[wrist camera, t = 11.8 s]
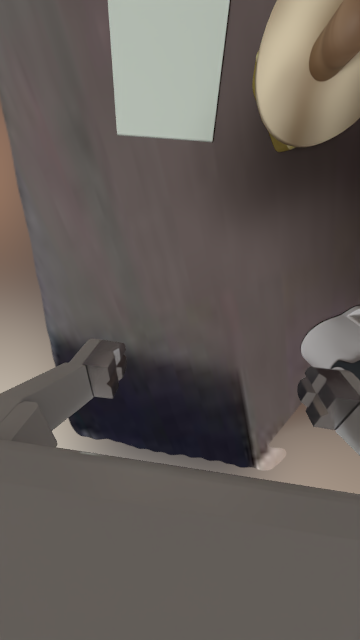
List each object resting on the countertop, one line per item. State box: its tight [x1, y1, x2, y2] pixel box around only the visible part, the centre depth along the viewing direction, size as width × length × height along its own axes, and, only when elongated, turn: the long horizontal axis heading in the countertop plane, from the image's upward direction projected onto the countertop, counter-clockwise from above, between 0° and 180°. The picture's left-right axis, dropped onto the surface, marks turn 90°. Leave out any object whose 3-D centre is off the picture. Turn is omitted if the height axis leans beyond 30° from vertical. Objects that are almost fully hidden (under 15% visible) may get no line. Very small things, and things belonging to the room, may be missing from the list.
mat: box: [108, 0, 230, 142], centre depth 25 cm, size 14×12×1 cm
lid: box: [255, 0, 360, 147], centre depth 15 cm, size 12×12×6 cm
